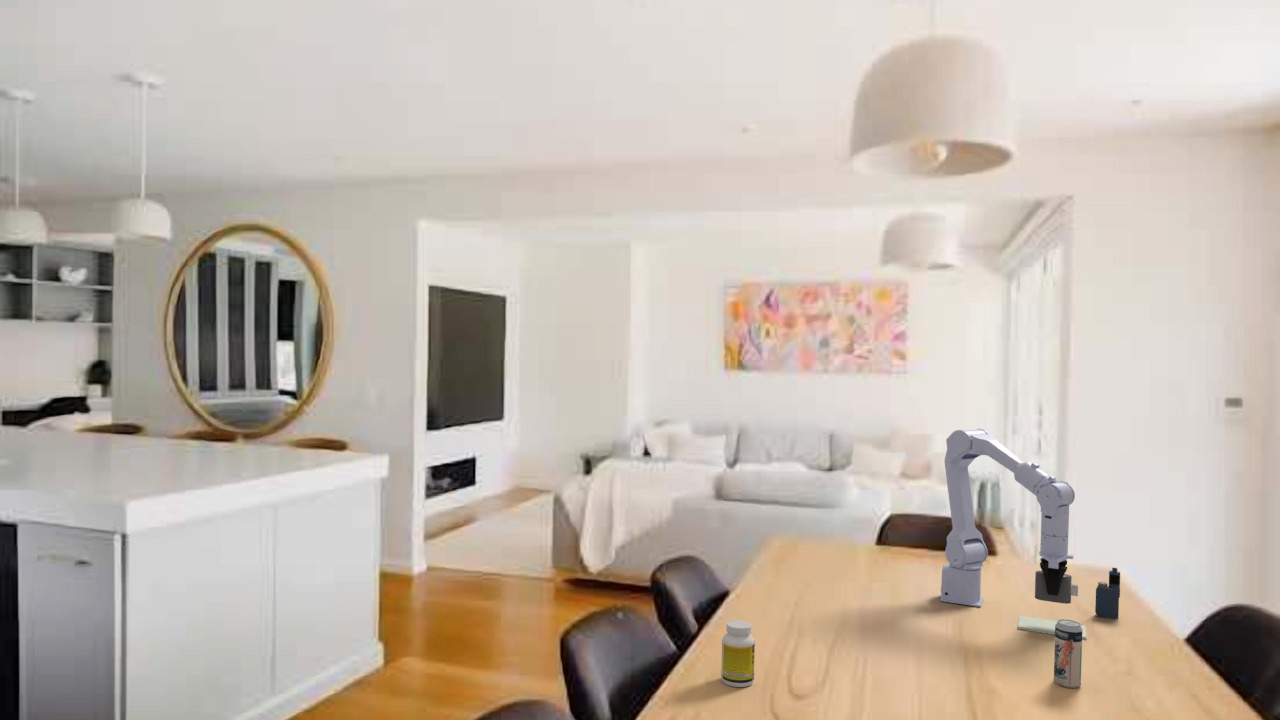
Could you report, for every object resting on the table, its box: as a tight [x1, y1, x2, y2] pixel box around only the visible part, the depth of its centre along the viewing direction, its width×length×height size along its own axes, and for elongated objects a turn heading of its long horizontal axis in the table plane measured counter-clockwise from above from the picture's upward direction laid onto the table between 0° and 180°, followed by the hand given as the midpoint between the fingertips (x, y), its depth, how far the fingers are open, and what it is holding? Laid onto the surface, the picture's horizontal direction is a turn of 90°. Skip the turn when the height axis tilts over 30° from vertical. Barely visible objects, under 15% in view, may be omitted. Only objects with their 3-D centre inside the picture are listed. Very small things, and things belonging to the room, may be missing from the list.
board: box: [1017, 615, 1087, 641], centre depth 192 cm, size 14×9×1 cm, turn 63°
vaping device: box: [1094, 567, 1121, 619], centre depth 202 cm, size 3×5×12 cm, turn 78°
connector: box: [1034, 570, 1079, 605], centre depth 191 cm, size 9×4×6 cm, turn 63°
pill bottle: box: [720, 619, 756, 688], centre depth 157 cm, size 6×6×11 cm
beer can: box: [1053, 618, 1083, 689], centre depth 159 cm, size 5×5×12 cm
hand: (1052, 592), depth 192 cm, fingers closed on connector, 3 cm apart
